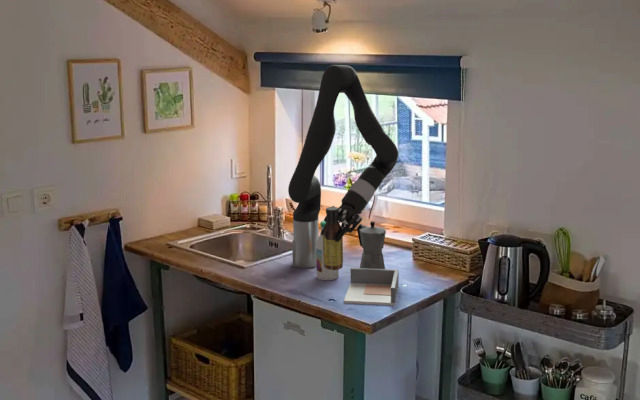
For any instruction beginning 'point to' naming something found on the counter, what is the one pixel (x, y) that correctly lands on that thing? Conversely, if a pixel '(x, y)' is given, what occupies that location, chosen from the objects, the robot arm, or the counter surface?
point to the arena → (373, 286)
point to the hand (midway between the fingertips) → (329, 237)
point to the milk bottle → (321, 270)
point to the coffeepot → (371, 246)
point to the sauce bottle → (332, 241)
